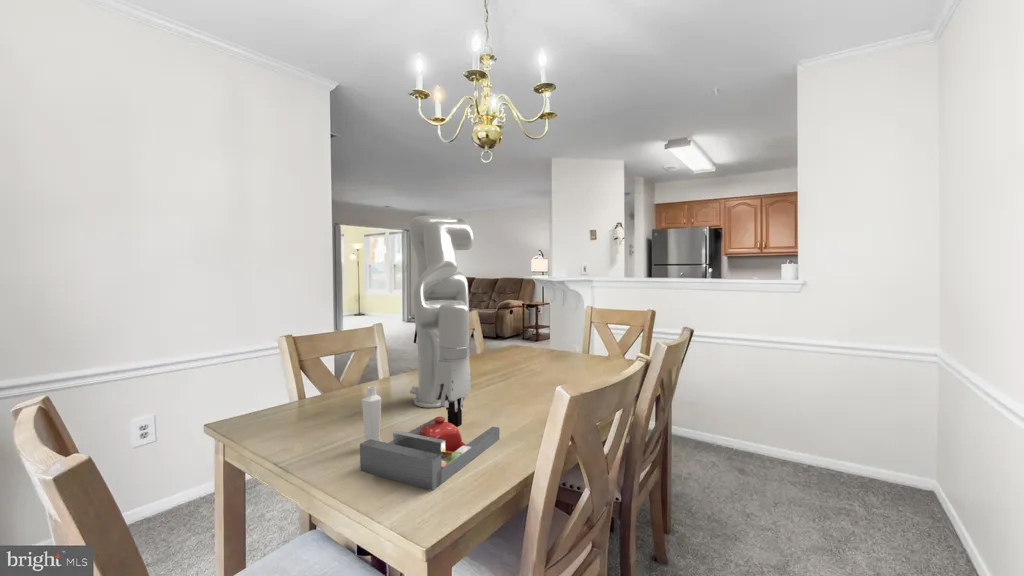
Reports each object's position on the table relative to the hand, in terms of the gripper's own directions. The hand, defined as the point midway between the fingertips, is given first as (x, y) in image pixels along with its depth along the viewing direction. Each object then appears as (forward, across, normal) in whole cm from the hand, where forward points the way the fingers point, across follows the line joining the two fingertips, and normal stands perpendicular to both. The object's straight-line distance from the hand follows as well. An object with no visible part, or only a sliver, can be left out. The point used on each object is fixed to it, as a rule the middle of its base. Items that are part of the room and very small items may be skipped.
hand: (454, 425), depth 110 cm
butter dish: (+5, +6, 0) cm, 8 cm away
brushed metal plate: (+4, +14, +1) cm, 15 cm away
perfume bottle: (+4, +12, -16) cm, 20 cm away
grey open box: (+4, +8, 0) cm, 9 cm away
